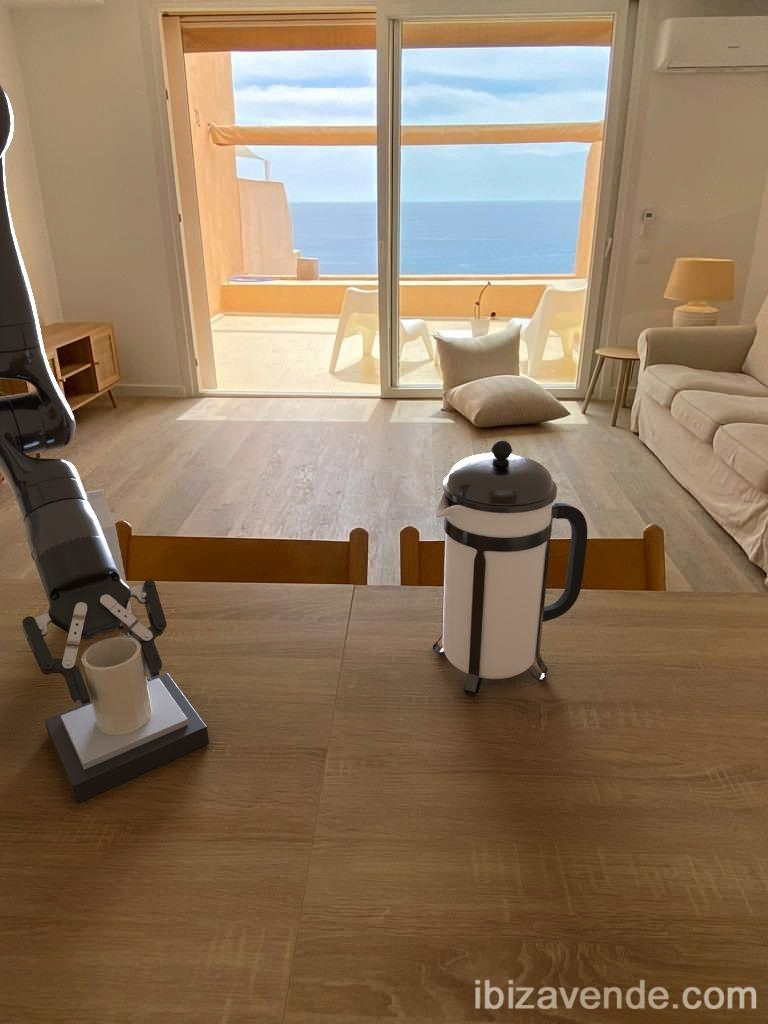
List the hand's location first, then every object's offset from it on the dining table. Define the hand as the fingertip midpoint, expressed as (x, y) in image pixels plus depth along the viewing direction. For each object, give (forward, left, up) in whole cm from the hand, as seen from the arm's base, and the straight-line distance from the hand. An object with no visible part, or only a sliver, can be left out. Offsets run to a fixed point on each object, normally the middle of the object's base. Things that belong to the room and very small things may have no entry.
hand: (121, 689), depth 73 cm
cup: (0, +2, -5) cm, 5 cm away
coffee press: (+43, -12, -8) cm, 45 cm away
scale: (0, +2, -8) cm, 8 cm away
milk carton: (+5, +30, -8) cm, 31 cm away
